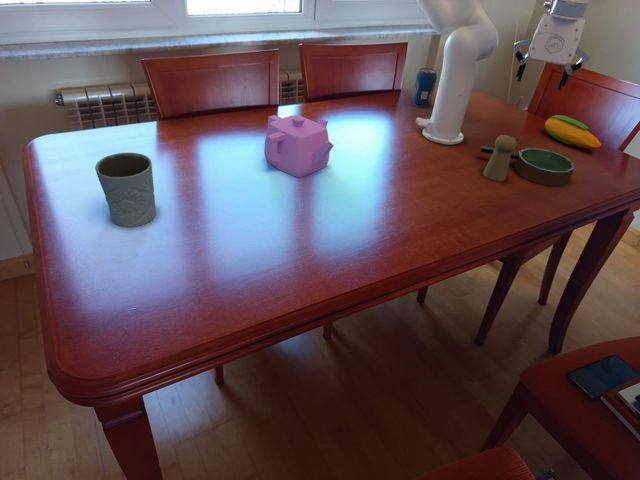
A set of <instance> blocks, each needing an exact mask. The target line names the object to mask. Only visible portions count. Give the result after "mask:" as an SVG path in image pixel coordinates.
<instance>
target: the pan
mask: <svg viewBox="0 0 640 480" xmlns="http://www.w3.org/2000/svg"><path fill="white" fill-rule="evenodd" d="M495 148H496V147H495V146H494V147H493V146H489V145H488V146H487V145H483V144H482V146H481V149H480V153H485V154H489V155H492V154H493V152H494V150H495ZM511 159H512V160H515V163H514V171H515V172H516V174H517V175H519V176H520V177H522V178H523V179H525V180H527V181H529V182H532V183H535V184H539V185H541V186H547V187H548V186H549V187H560V186H564V185H566V184H567V183H569V182H570V179H571V177H572V175H573V173H574V171H575V164H574V162H573V161H572V160H570V159H569V158H568V157H567V156H564V155H563V154H560V153H557V152H555V151H552V150H548V149H543V148H535V147H533V148H530V147H529V148H528V147H527V148H524V149H522V150H519V151H518V152H517V151H512V152H511V157H510V160H511Z"/></svg>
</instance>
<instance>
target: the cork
mask: <svg viewBox="0 0 640 480" xmlns="http://www.w3.org/2000/svg"><path fill="white" fill-rule="evenodd" d="M517 144H518V143H517V139H516V138H515V137H513V136H510V135H505V134H503V135H502V134H501V135H499V136H498V137H497V138H496V139H495V140H494V148H495V150H494V152H493V154H491V156H490V158H489V160H488V161H487V164H486V166H485V168H484V170H483V172H482V175H483V177H485V178H487V179H488V180H491V181H495V182H503V181H506V179H507V176H508V172H509V171H508V170H509V167H510V161H511V158H510V157H511V152H514V151H515V149H516V147H517Z"/></svg>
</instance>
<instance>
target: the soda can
mask: <svg viewBox="0 0 640 480" xmlns="http://www.w3.org/2000/svg"><path fill="white" fill-rule="evenodd" d="M437 78H438V76H437V71H436V70H435V69H432V68H427V67H423V68H420V69H419V70H418V72H417V73H416V77H415V83H414V88H413V92H412V98H411V101H412V105H414V106H416V107H419V108H427V107H428V106H430V104H431V103H432V100H433V96H434V91H435V87H436V82H437Z"/></svg>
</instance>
